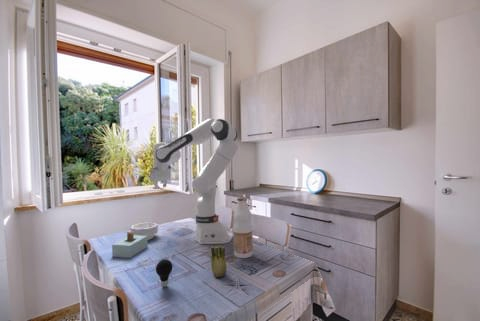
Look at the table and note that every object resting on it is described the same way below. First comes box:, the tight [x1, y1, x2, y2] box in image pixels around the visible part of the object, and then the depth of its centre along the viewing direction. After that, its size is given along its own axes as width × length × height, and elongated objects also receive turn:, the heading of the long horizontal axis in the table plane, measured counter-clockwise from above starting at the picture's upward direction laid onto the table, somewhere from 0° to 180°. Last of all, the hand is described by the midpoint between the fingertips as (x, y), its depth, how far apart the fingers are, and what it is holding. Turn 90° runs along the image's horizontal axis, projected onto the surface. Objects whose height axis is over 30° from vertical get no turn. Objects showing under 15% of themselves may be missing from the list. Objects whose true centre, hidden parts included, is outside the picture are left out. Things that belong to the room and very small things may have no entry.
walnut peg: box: [126, 230, 134, 242], centre depth 117 cm, size 3×3×10 cm
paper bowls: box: [130, 222, 159, 241], centre depth 137 cm, size 15×15×8 cm
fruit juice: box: [232, 196, 254, 259], centre depth 110 cm, size 9×9×28 cm
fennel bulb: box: [210, 245, 227, 278], centre depth 91 cm, size 6×5×12 cm
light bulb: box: [155, 258, 173, 288], centre depth 84 cm, size 6×6×10 cm
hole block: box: [111, 235, 148, 259], centre depth 117 cm, size 10×14×6 cm
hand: (160, 187), depth 148 cm, fingers open, 8 cm apart
